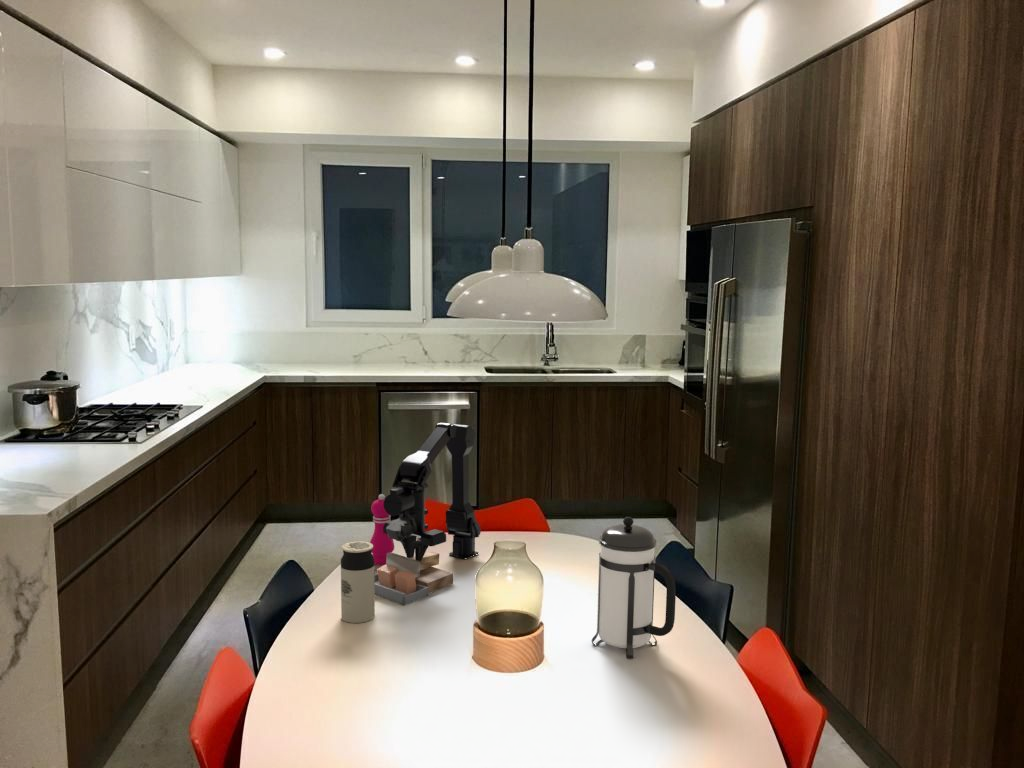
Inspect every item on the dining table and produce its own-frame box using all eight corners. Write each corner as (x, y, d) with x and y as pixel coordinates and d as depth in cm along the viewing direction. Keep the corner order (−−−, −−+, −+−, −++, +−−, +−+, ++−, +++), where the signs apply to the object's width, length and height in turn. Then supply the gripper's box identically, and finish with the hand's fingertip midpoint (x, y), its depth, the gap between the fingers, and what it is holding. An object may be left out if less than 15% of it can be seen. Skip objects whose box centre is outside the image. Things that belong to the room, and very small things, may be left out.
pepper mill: (366, 559, 254) (365, 492, 252) (390, 556, 257) (390, 490, 255) (373, 566, 248) (372, 498, 245) (397, 563, 251) (397, 496, 248)
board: (411, 570, 245) (411, 560, 245) (453, 583, 235) (453, 573, 235) (385, 580, 237) (385, 569, 237) (427, 594, 227) (427, 583, 227)
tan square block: (385, 564, 233) (377, 569, 231) (397, 568, 231) (388, 573, 228) (387, 579, 235) (379, 584, 232) (399, 583, 232) (391, 588, 230)
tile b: (402, 570, 229) (394, 574, 227) (414, 573, 227) (406, 578, 224) (404, 585, 230) (396, 590, 228) (416, 589, 228) (408, 594, 225)
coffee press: (593, 660, 190) (597, 527, 186) (589, 630, 206) (592, 507, 202) (673, 662, 189) (679, 529, 186) (663, 632, 205) (667, 508, 201)
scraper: (421, 559, 244) (422, 545, 244) (450, 567, 237) (451, 553, 237) (385, 568, 234) (386, 553, 233) (415, 577, 227) (415, 562, 227)
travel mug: (366, 608, 217) (366, 538, 215) (380, 619, 210) (379, 547, 208) (336, 615, 213) (335, 544, 210) (348, 626, 206) (348, 553, 204)
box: (381, 579, 238) (381, 569, 237) (428, 595, 226) (428, 584, 226) (356, 588, 231) (355, 577, 230) (403, 605, 219) (403, 594, 219)
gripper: (367, 506, 232) (368, 563, 234) (417, 519, 220) (417, 579, 222) (398, 498, 240) (398, 553, 242) (447, 510, 229) (447, 568, 231)
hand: (414, 563), depth 234 cm, fingers closed on scraper, 2 cm apart
